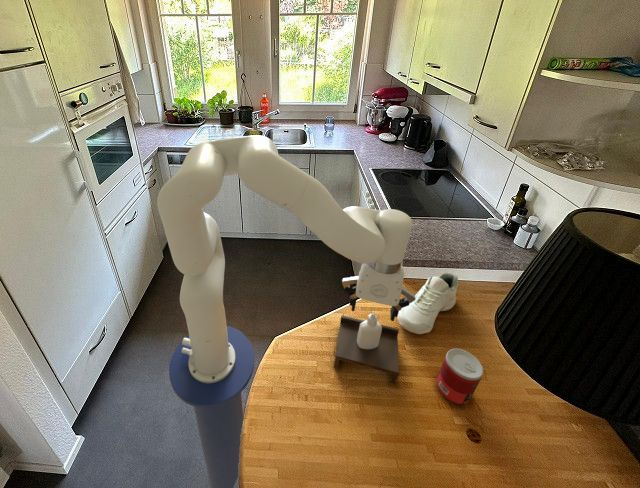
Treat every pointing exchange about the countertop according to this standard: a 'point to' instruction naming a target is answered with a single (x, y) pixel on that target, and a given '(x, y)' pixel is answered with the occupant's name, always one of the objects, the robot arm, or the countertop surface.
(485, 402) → the countertop surface
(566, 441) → the countertop surface
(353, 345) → the shelf
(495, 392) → the countertop surface
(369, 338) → the eye dropper bottle
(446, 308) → the running shoe
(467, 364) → the canned food
